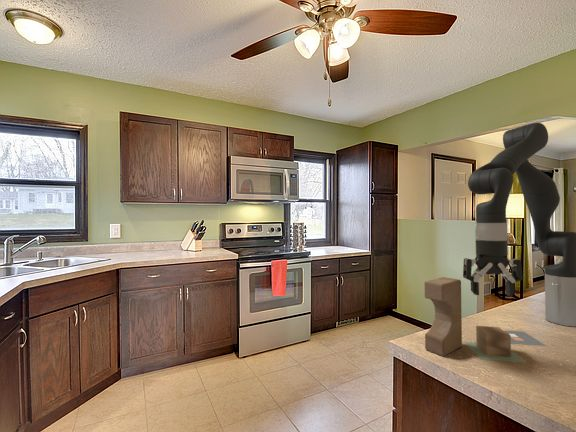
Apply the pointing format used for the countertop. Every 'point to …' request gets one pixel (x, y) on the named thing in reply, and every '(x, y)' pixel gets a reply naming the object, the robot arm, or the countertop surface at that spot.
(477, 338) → the walnut block
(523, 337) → the tile
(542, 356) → the countertop surface
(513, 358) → the mat
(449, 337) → the decorative block
